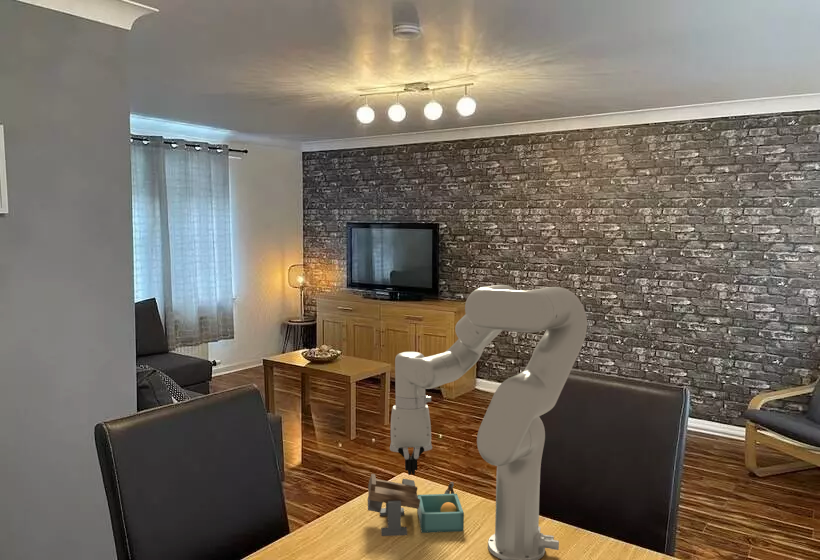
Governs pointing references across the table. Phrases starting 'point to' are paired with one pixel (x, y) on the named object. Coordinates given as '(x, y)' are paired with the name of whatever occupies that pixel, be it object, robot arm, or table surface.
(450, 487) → the wooden post with brackets
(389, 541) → the table surface
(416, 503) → the lever
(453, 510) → the ball
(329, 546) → the table surface
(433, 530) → the teal open box
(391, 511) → the lever stand
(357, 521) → the table surface
